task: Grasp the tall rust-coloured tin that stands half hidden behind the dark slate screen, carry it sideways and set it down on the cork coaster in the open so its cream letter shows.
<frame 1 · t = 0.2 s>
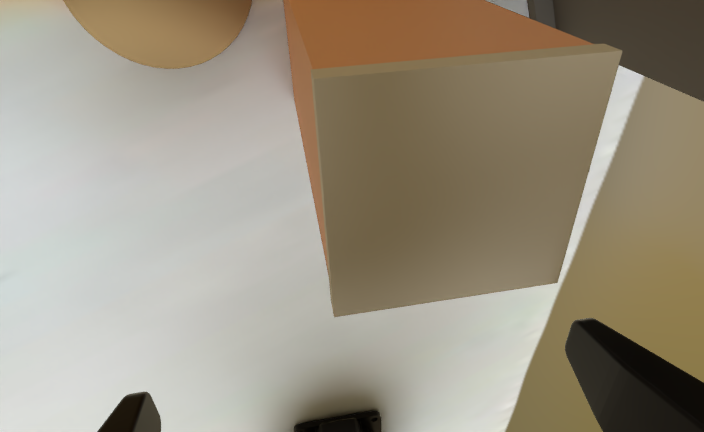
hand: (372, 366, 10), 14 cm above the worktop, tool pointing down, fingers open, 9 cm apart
tin: (346, 38, 20), on the worktop
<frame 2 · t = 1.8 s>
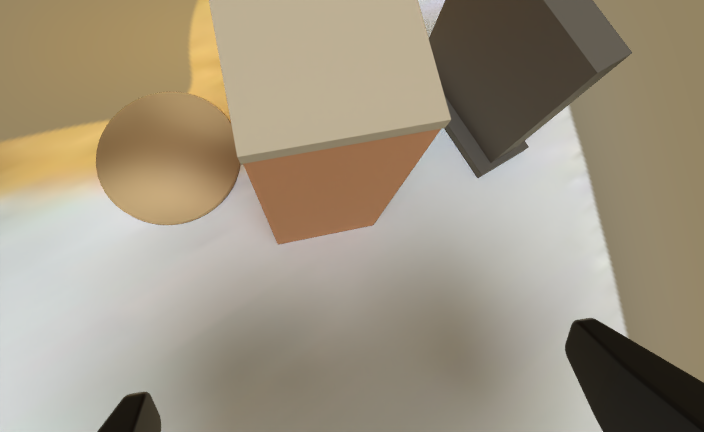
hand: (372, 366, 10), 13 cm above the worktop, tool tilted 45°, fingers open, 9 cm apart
coaster: (171, 158, 24), on the worktop
screen: (462, 108, 26), on the worktop
tin: (316, 188, 24), on the worktop
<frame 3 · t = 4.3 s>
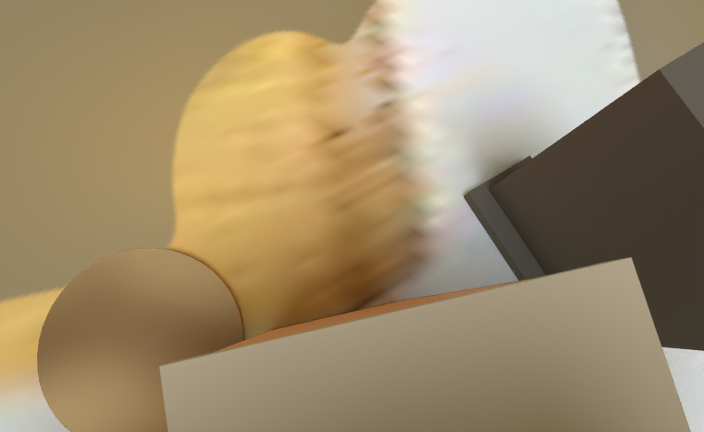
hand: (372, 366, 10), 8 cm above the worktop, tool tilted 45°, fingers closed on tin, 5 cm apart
coaster: (146, 344, 17), on the worktop
screen: (545, 254, 19), on the worktop
tin: (349, 382, 17), on the worktop, touching gripper
when the fingers open (9 cm above the worktop, at t = 7.0 s): tin stays where it is, resting on coaster.
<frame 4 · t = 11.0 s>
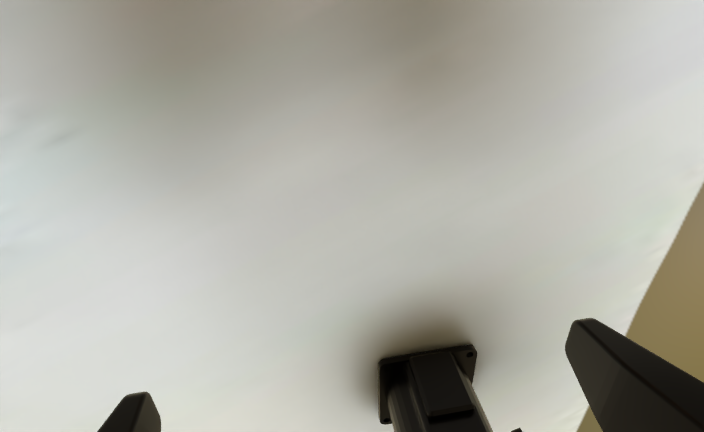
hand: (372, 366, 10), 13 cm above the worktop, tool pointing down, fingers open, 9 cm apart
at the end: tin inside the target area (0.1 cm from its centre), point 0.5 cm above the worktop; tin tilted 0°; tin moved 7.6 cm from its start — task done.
